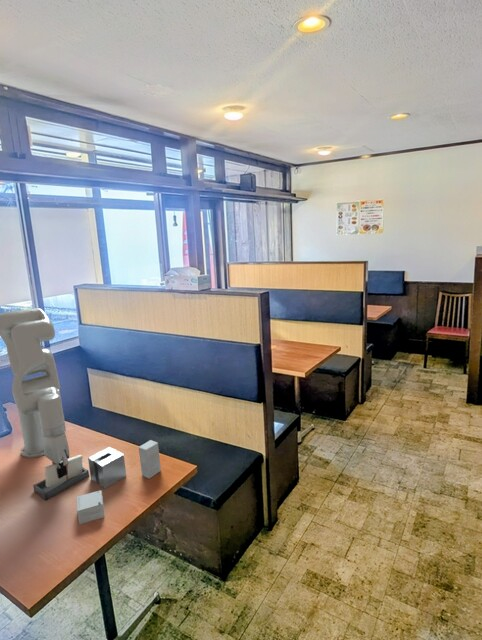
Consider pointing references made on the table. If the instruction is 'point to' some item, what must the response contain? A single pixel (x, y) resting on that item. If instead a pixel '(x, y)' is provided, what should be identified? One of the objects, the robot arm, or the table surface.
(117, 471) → the ticket dispenser
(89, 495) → the small box
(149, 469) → the skincare box
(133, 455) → the table surface
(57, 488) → the stub tray
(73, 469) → the ticket
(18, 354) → the robot arm
